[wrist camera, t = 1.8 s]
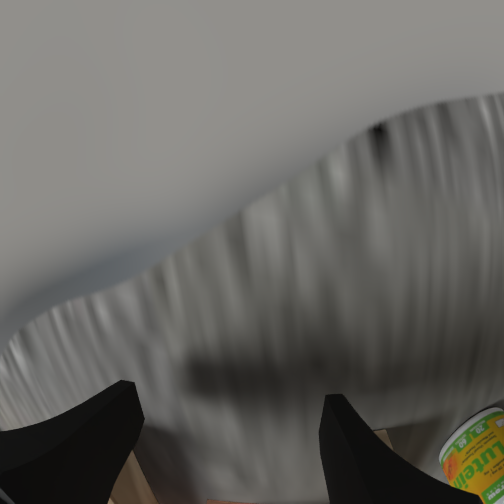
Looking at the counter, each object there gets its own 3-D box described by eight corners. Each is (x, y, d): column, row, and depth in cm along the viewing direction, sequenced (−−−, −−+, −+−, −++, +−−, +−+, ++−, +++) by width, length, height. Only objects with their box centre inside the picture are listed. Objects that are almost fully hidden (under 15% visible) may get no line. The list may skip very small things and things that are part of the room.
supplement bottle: (478, 400, 11) (554, 510, 2) (512, 408, 11) (575, 491, 2) (421, 462, 12) (464, 575, 3) (464, 462, 12) (506, 550, 3)
